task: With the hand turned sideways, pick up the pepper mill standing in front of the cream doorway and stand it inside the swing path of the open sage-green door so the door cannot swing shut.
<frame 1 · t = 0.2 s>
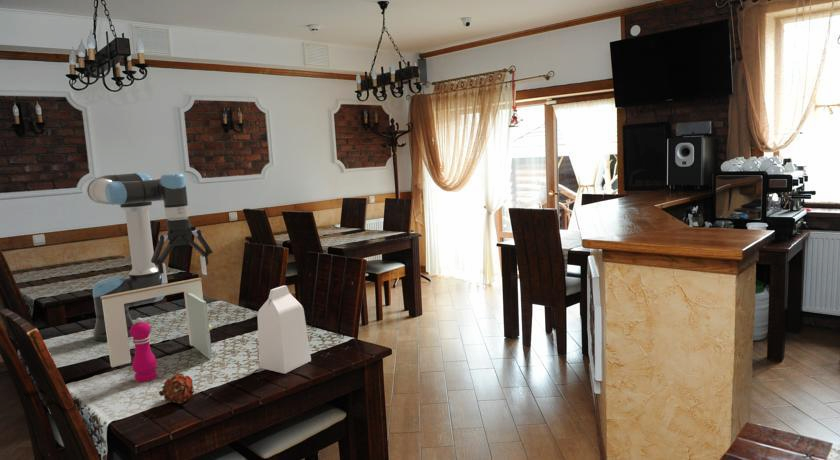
hand: (185, 278, 196), 28 cm above the table, tool pointing down, fingers open, 13 cm apart
pepper mill: (146, 378, 178), on the table
door frame: (145, 357, 198), on the table
door: (200, 323, 199), point 10 cm above the table, hinge at 85.0°
milk: (285, 364, 184), on the table
dragon fruit: (178, 401, 160), on the table
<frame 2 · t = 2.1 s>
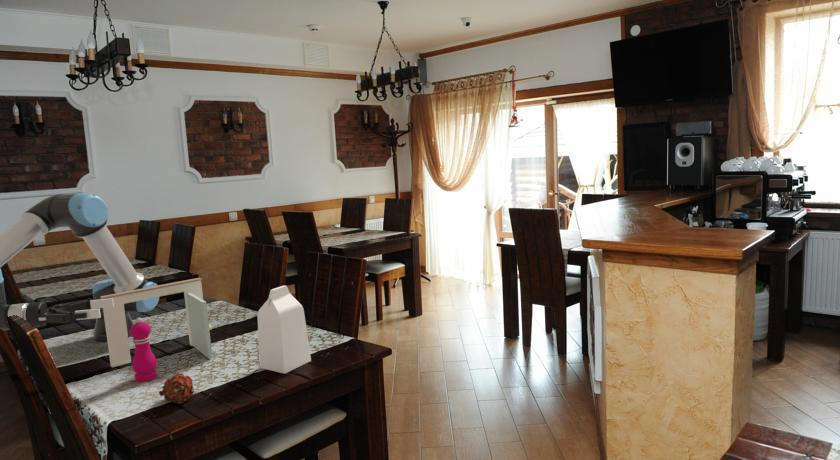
hand: (106, 307, 174), 24 cm above the table, tool horizontal, fingers open, 13 cm apart
nothing on the table moved.
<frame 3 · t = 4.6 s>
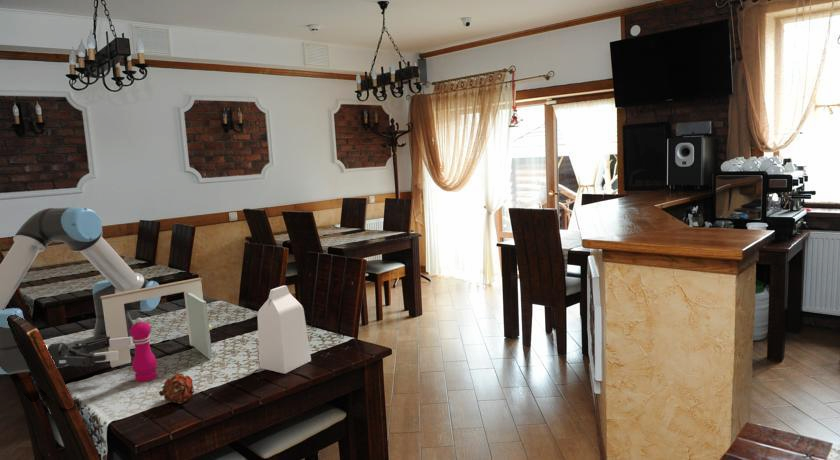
hand: (125, 347, 175), 11 cm above the table, tool horizontal, fingers open, 13 cm apart
nothing on the table moved.
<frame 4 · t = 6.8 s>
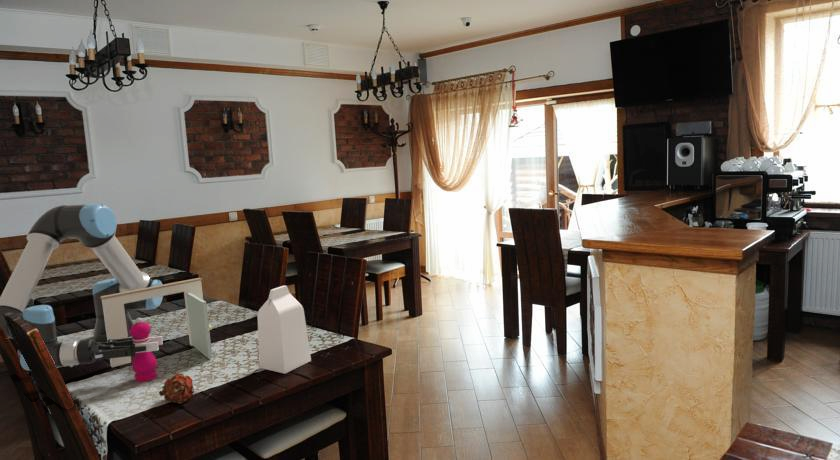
hand: (159, 343, 178), 11 cm above the table, tool horizontal, fingers closed on pepper mill, 5 cm apart
pepper mill: (146, 378, 178), on the table, touching gripper
everything else where it was.
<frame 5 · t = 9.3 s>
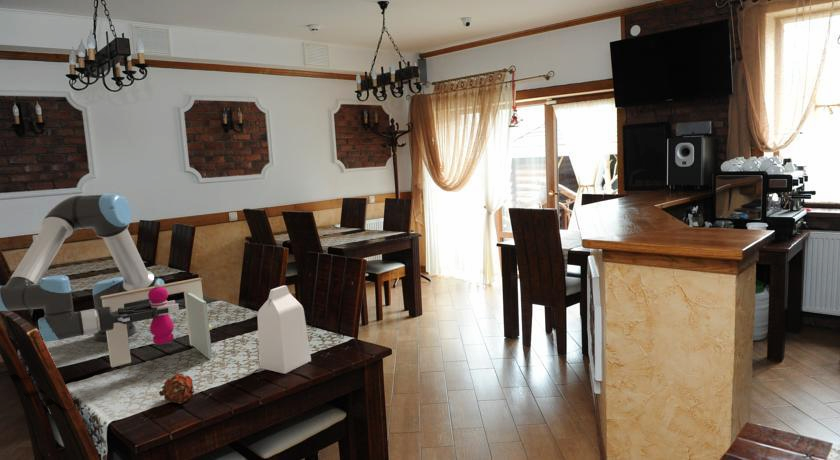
hand: (176, 305, 188), 20 cm above the table, tool horizontal, fingers closed on pepper mill, 5 cm apart
pepper mill: (163, 341, 187), point 9 cm above the table, touching gripper
everything else where it was.
when the fingers open (12 cm above the table, at t = 11.9 s): pepper mill drops 1 cm, on the table.
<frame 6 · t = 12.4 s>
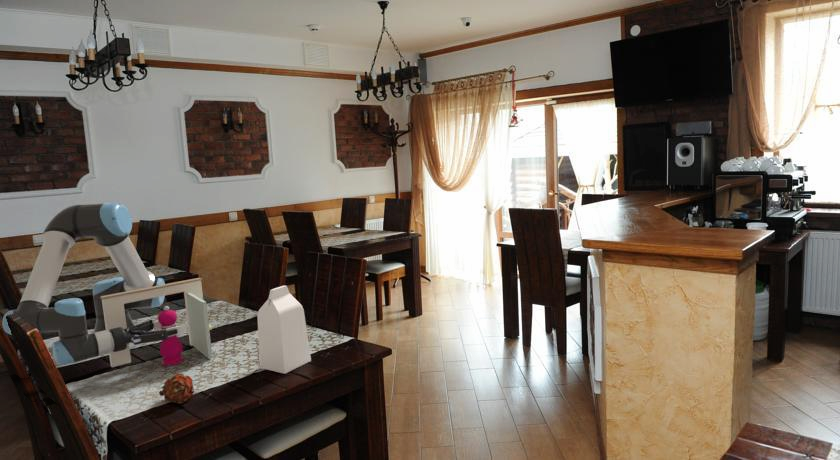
hand: (179, 324, 192), 12 cm above the table, tool horizontal, fingers open, 12 cm apart
pepper mill: (172, 362, 192), on the table
everything else where it was.
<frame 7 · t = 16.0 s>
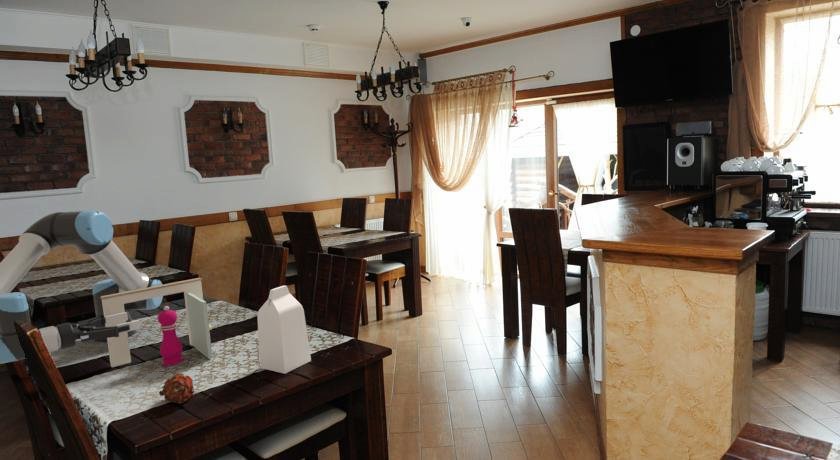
hand: (133, 319, 182), 18 cm above the table, tool horizontal, fingers open, 13 cm apart
nothing on the table moved.
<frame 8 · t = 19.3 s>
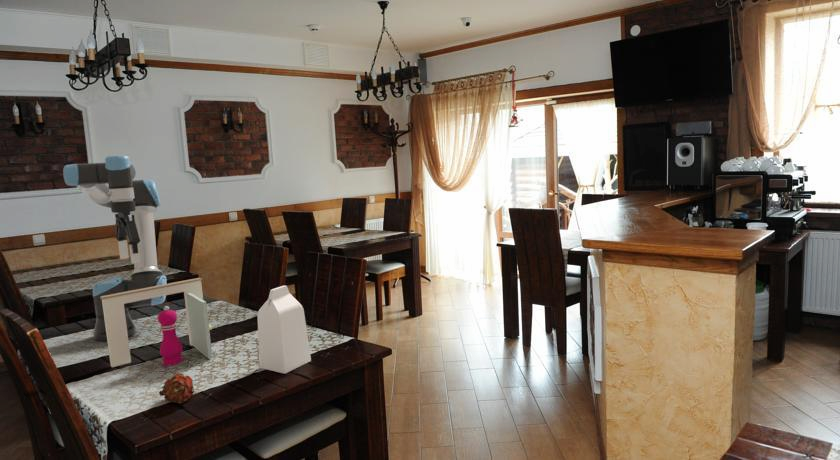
hand: (130, 260, 196), 35 cm above the table, tool pointing down, fingers open, 13 cm apart
nothing on the table moved.
at the end: pepper mill inside the target area (0.0 cm from its centre), on the table; pepper mill tilted 0°; door at +85° (first picture: +85°) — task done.
